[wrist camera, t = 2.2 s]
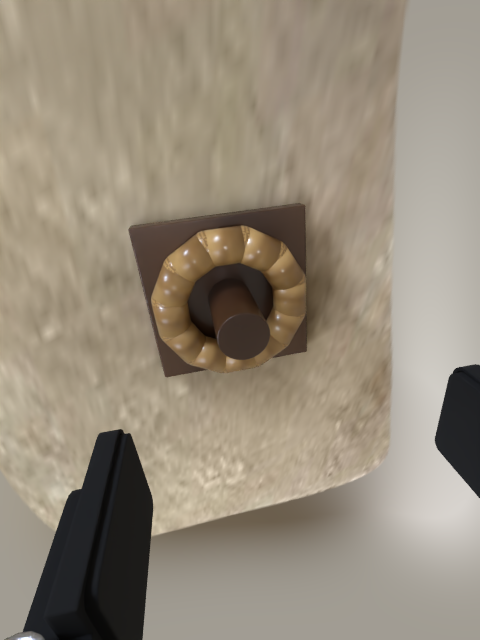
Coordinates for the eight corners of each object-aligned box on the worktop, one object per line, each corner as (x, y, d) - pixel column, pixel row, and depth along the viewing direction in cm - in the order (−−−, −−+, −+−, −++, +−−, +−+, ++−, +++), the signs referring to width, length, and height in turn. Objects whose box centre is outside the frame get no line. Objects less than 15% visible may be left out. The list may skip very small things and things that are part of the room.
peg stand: (165, 370, 21) (162, 432, 16) (129, 225, 17) (112, 253, 12) (302, 345, 22) (337, 397, 17) (300, 202, 18) (344, 220, 13)
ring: (170, 371, 20) (170, 389, 19) (138, 235, 17) (134, 244, 15) (300, 347, 21) (311, 363, 20) (298, 214, 17) (310, 220, 16)
